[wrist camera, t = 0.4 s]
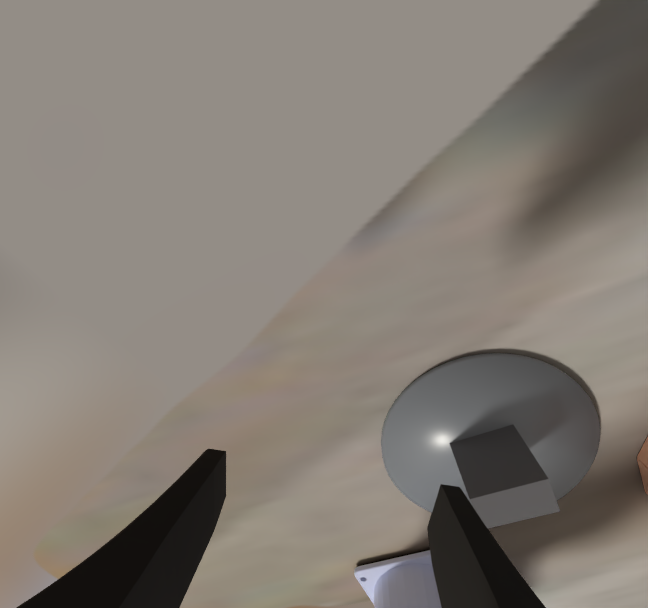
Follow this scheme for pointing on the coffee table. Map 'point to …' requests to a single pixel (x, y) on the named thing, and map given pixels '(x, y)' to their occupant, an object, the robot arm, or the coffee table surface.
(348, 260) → the coffee table surface
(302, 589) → the coffee table surface
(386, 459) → the lid
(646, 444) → the bowl
